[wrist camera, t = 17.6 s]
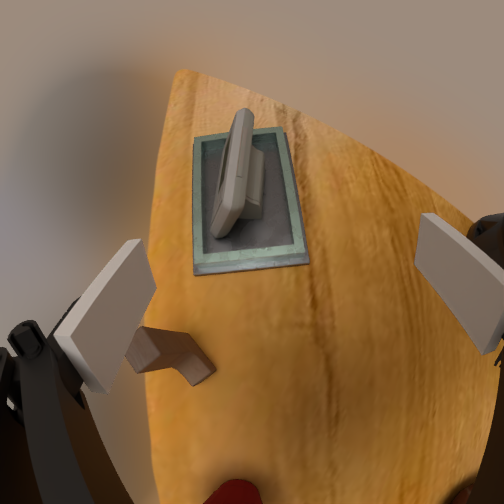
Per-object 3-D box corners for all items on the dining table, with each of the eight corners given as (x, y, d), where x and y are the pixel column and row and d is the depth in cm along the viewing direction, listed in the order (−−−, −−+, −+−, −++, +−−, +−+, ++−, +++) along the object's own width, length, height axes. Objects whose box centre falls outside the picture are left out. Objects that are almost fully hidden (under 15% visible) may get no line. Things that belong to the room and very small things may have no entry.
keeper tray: (285, 136, 47) (286, 122, 44) (308, 264, 40) (311, 257, 36) (194, 147, 48) (189, 134, 44) (195, 276, 40) (188, 270, 37)
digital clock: (227, 146, 46) (217, 101, 36) (280, 156, 44) (281, 110, 34) (192, 234, 41) (168, 200, 31) (252, 249, 40) (245, 217, 30)
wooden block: (170, 346, 38) (117, 345, 23) (187, 332, 38) (141, 324, 24) (199, 383, 36) (158, 404, 22) (217, 369, 36) (184, 384, 22)
